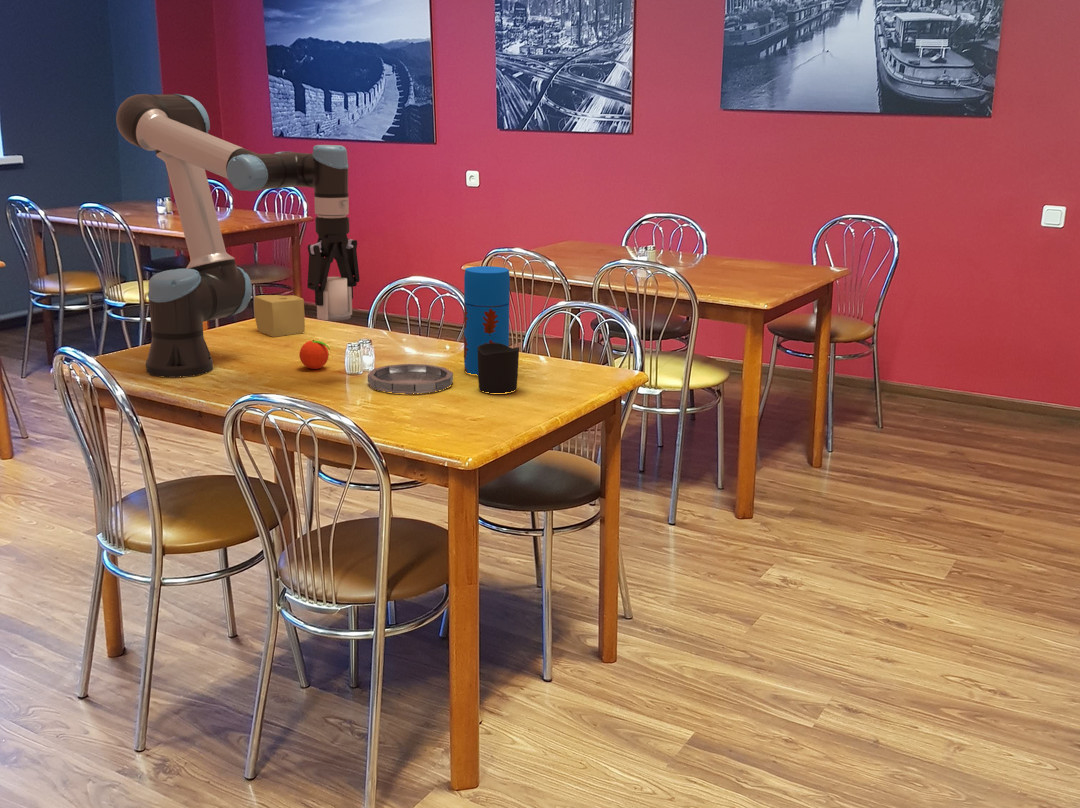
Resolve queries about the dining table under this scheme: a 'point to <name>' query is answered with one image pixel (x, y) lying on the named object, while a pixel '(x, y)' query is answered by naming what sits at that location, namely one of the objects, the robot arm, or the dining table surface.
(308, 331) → the dining table surface
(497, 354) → the pen holder
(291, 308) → the cheese
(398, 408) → the dining table surface
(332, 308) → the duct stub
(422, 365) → the round tray
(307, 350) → the clementine
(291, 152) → the robot arm
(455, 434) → the dining table surface
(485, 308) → the thermos
